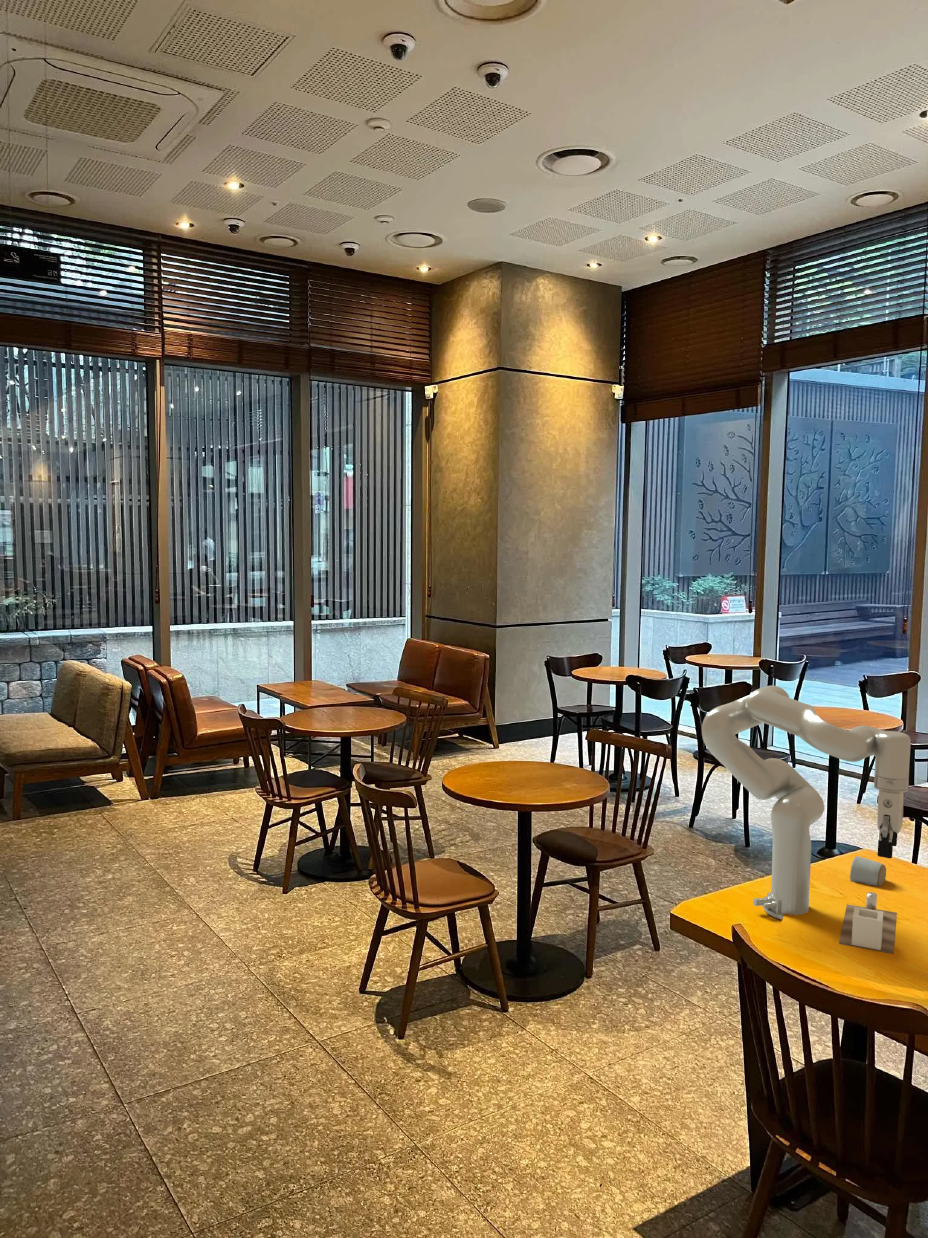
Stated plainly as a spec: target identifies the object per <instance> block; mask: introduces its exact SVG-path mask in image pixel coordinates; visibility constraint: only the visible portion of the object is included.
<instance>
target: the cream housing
mask: <svg viewBox="0 0 928 1238" xmlns="http://www.w3.org/2000/svg"><path fill="white" fill-rule="evenodd" d="M882 928H883V911H877V910H871V909H865V908H859V907H855V908H854V913H853V925H852V945H856V946H861V947H867V948H872V949H878V950H881V943H882Z"/></svg>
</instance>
